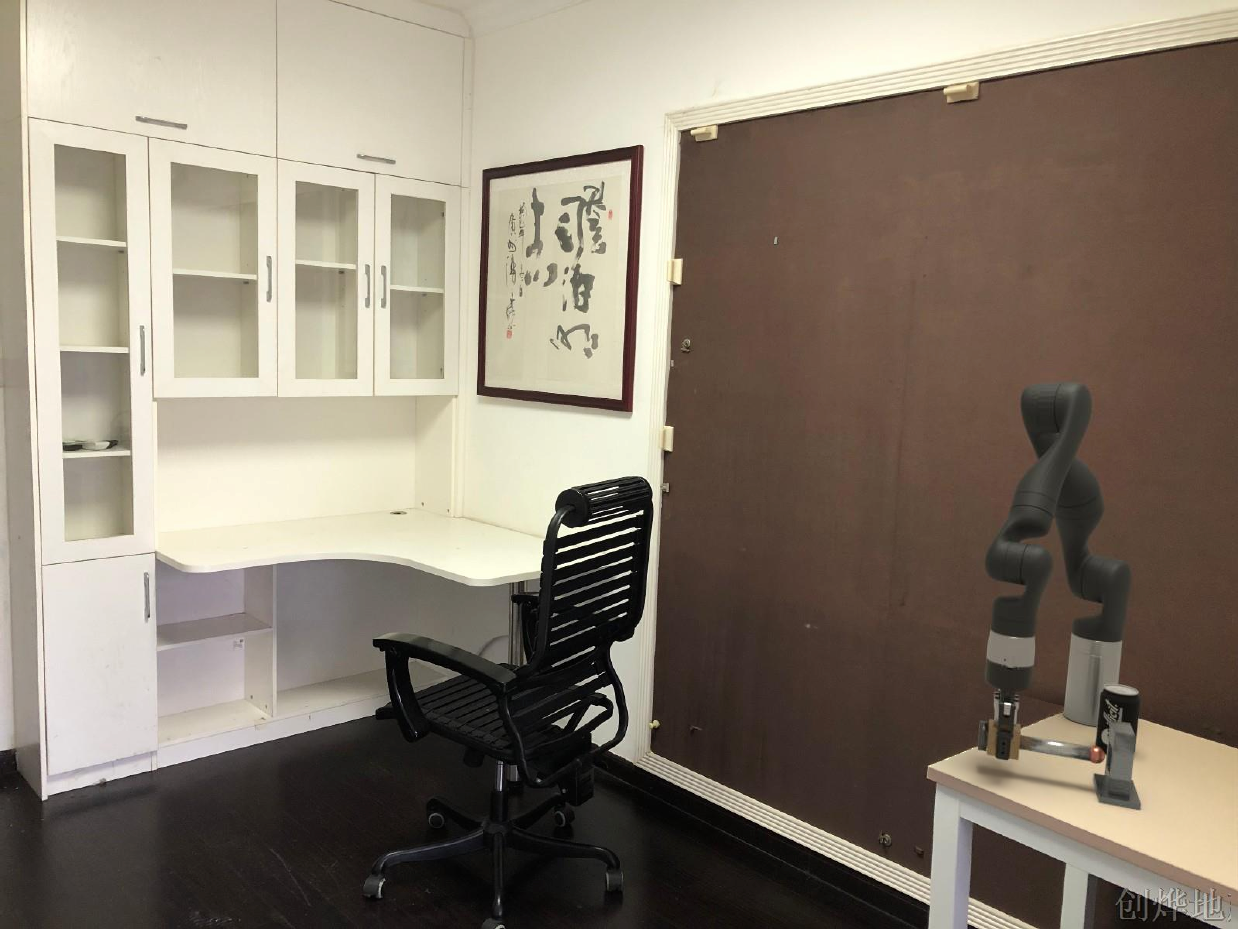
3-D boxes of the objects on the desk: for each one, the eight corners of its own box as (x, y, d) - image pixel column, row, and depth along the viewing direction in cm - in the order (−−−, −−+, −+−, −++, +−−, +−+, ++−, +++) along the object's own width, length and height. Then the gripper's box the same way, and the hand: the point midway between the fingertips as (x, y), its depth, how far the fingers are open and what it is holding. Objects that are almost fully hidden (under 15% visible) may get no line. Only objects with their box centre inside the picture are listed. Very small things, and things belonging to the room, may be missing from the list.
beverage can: (1139, 760, 175) (1146, 696, 174) (1100, 756, 177) (1107, 692, 175) (1128, 747, 182) (1134, 685, 180) (1090, 742, 183) (1096, 681, 182)
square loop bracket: (1093, 778, 166) (1099, 715, 165) (1132, 785, 164) (1138, 722, 163) (1098, 802, 157) (1105, 735, 156) (1140, 810, 155) (1147, 742, 153)
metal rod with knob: (977, 754, 165) (979, 726, 165) (977, 744, 170) (980, 716, 170) (1105, 776, 158) (1108, 747, 158) (1101, 765, 163) (1104, 737, 163)
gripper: (987, 644, 173) (979, 732, 174) (986, 666, 159) (978, 761, 161) (1032, 650, 170) (1024, 740, 172) (1035, 673, 157) (1026, 769, 158)
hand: (1001, 750), depth 166 cm, fingers open, 8 cm apart
